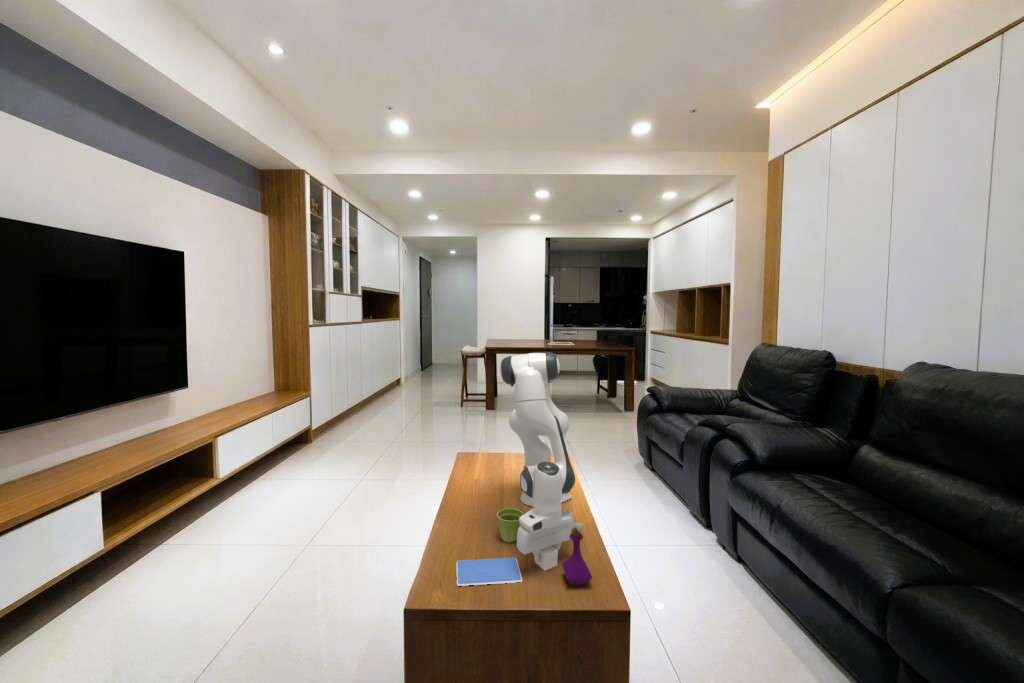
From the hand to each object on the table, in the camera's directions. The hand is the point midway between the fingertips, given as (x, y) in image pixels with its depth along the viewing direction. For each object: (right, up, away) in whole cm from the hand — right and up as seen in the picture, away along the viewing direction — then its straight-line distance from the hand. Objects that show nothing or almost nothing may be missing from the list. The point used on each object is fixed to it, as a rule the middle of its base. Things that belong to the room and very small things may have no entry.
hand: (546, 558), depth 135 cm
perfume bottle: (+8, -3, -8) cm, 12 cm away
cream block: (0, -2, 0) cm, 2 cm away
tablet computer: (-18, -3, -5) cm, 19 cm away
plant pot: (-12, -1, +15) cm, 19 cm away
